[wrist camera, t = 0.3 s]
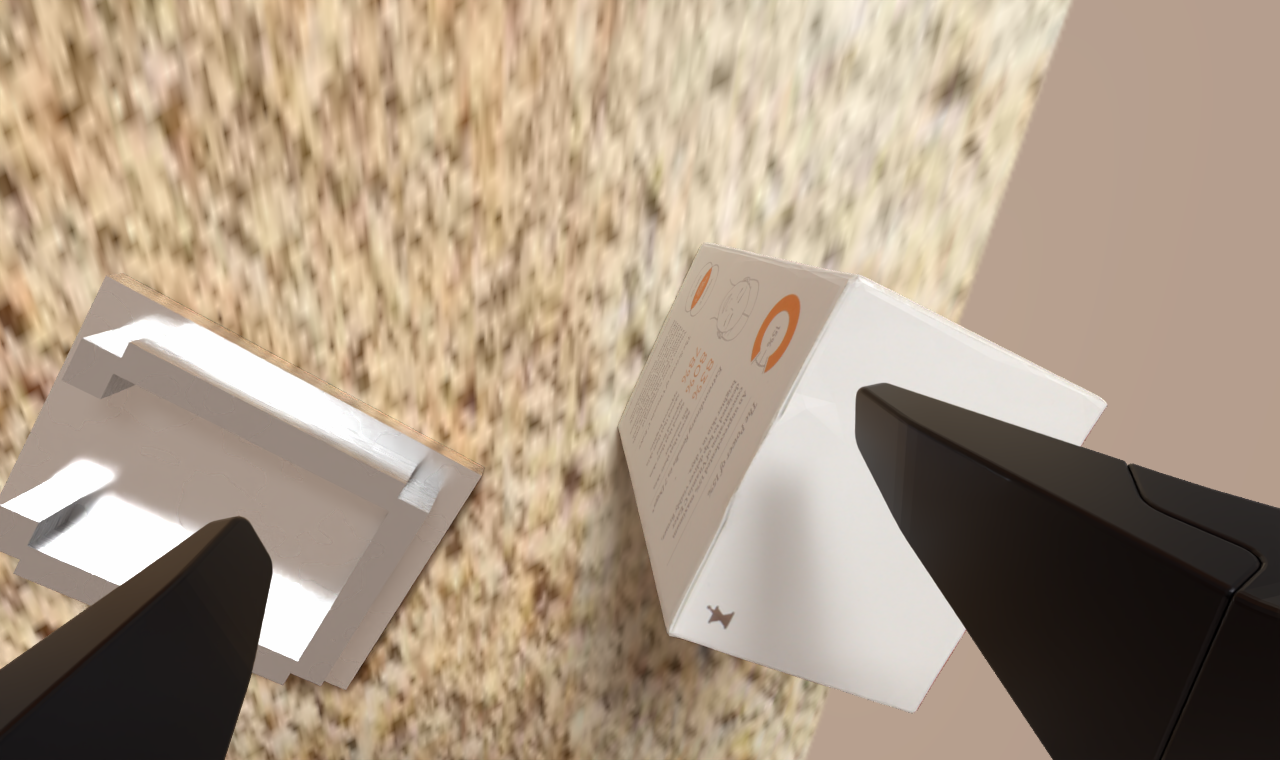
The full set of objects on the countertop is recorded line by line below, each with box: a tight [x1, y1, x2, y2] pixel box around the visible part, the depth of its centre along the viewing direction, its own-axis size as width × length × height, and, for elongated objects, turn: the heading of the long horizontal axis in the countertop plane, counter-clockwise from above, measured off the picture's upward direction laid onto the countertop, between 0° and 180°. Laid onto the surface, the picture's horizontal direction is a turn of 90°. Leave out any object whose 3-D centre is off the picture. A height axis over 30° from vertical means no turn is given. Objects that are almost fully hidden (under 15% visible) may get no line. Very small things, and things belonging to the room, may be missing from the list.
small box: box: [618, 243, 1107, 713], centre depth 19 cm, size 8×6×13 cm
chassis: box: [0, 273, 484, 690], centre depth 23 cm, size 14×11×3 cm
